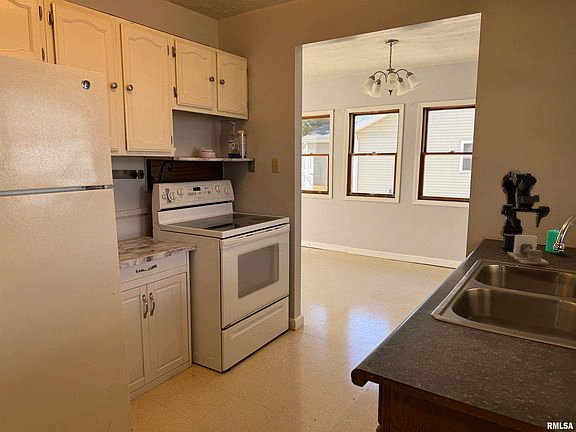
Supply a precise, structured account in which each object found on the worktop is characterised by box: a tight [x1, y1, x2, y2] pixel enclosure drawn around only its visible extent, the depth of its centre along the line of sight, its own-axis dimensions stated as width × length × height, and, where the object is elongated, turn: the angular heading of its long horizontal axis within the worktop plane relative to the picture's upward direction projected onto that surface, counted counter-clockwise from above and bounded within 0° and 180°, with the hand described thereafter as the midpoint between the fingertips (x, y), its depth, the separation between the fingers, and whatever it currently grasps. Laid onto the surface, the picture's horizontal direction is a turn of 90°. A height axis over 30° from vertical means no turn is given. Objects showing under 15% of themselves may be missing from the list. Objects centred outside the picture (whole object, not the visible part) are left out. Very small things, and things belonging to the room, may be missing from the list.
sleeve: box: [513, 234, 538, 255], centre depth 184 cm, size 3×9×9 cm, turn 79°
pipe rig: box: [507, 246, 550, 266], centre depth 182 cm, size 18×11×6 cm, turn 169°
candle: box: [545, 229, 561, 254], centre depth 198 cm, size 6×6×12 cm
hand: (525, 227), depth 177 cm, fingers open, 9 cm apart
